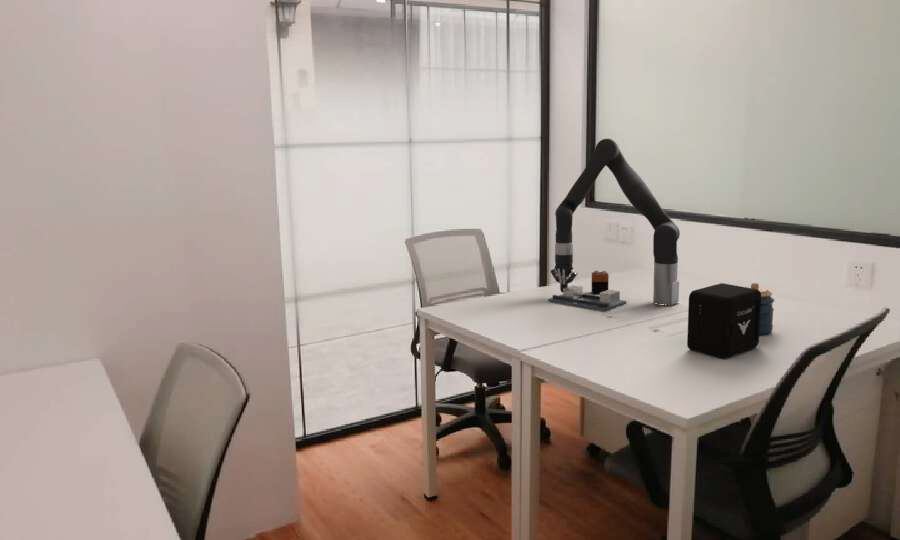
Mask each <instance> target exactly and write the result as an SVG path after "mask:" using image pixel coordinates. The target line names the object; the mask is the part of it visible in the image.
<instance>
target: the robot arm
mask: <svg viewBox="0 0 900 540" xmlns="http://www.w3.org/2000/svg"><path fill="white" fill-rule="evenodd" d="M605 167H607V168H608V170H609V171H610V172H611V173H612V175H613V176H614V177H615V180H616V181H617V184H618V186H619V187H620V189H621V191H622V193H623V194H624V196H625V197H626V199H627V200H628V201H629V203H630V205H632V206H633V207H634V209H636V210H637V211H638V212H639V213H640V214H641V215H642V216H644V217H645V218H646V220H647V221H648V222H649V224H650V225H651V227H652V228H653V230H654V231H653V241H652V242H653V244H652V246H653V247H652V251H653V252H652V253H653V255H652V256H653V297H652V299H653V300H652V301H653V302H654V303H657V304H664V305H665V304H666V305H673V304H675V303H677V302H679V301H680V299H679V298H680V297H679V296H680V281H679V280H678V267H679V265H678V264H679V256H678V249H677V247H678V240H679V238H680V235H681V232H680V229H679V227H678V226H677V224H676V223H675V222H674V221H673V220H672V219H671V218H670V216H669V215H668V214H667V213H666V212H665V211H664V210H663V208H662V206H661V205H660V204H659V201H658V200H657V199H656V197H655V196H654V194H653V192H652V191H651V190H650V188H649V187H648V185H647V184H646V182H645V181H644V180H643V179H642V177H641V176H640V175H639V174H638V173H637V171H635V169H634V168H632V167H631V166H630V164H629V163H628V161H627V160H626V159H625V156H624V154H623V153H622V151H621V150H620V148H619V144H618V143H617V142H616V141H615V140H613V139H612V138H603V139H601V140H599V141H598V142H597V143H596V146H595V149H594V151H593V153H592V155H591V157H590V159H589V161H588V163H587V164H586V166H585V167H584V169H583V171H582V172H581V174H580V175H579V176H578V178H577V179H576V180H575V182H574V183H573V185H572V187H571V188H570V190H569V191H568V193H567V194H566V196H565V198H564V199H563V200H562V201H561V202H560V204H559V205H558V207H557V208H556V210H555V229H556V230H555V245H554V263H555V265H554V268H553V269H551V270H550V273H551V275H552V276H553V278H554V279H555V281H556V283H558V284H559V285H560V286H559V287H560V288H559V290H560V293H563V288H566V287H569V286H568V285H569V284H572V282H573V281H574V280H575V278H576V277H577V276H578V271H575V270H574V267H573V263H574V260H573V259H574V258H573V257H574V247H573V246H574V245H573V230H572V229H573V214H575V211H576V210H577V208H578V207H579V206H580V205H581V204H583V202H584V201H585V199H586V197H587V196H588V194H589V193H590V192H591V190H592V188H593V186H594V184H595V182H596V180H597V178H598V177H599V175H600V173H602V171H603V169H604V168H605ZM653 302H652V303H653ZM654 303H653V304H654ZM675 305H676V304H675ZM673 306H674V305H673Z"/></svg>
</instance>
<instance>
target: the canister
mask: <svg viewBox="0 0 900 540" xmlns="http://www.w3.org/2000/svg"><path fill="white" fill-rule="evenodd" d="M746 287H747V288H752V289H757V290H759V291H760V292H761V314H760V333H759V337H761V336H763V337H764V336H768V335H770V334H772V332H773V327H774V325H773V321H774V319H773V318H774V310H775V309H774V307H773V303H774V302H775V298H773V297H772V295H773V292H771V290H769V289H768V288H767V287H761V286H760V285H759V283H758V282H752V283H751V284H750V286H746Z"/></svg>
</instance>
